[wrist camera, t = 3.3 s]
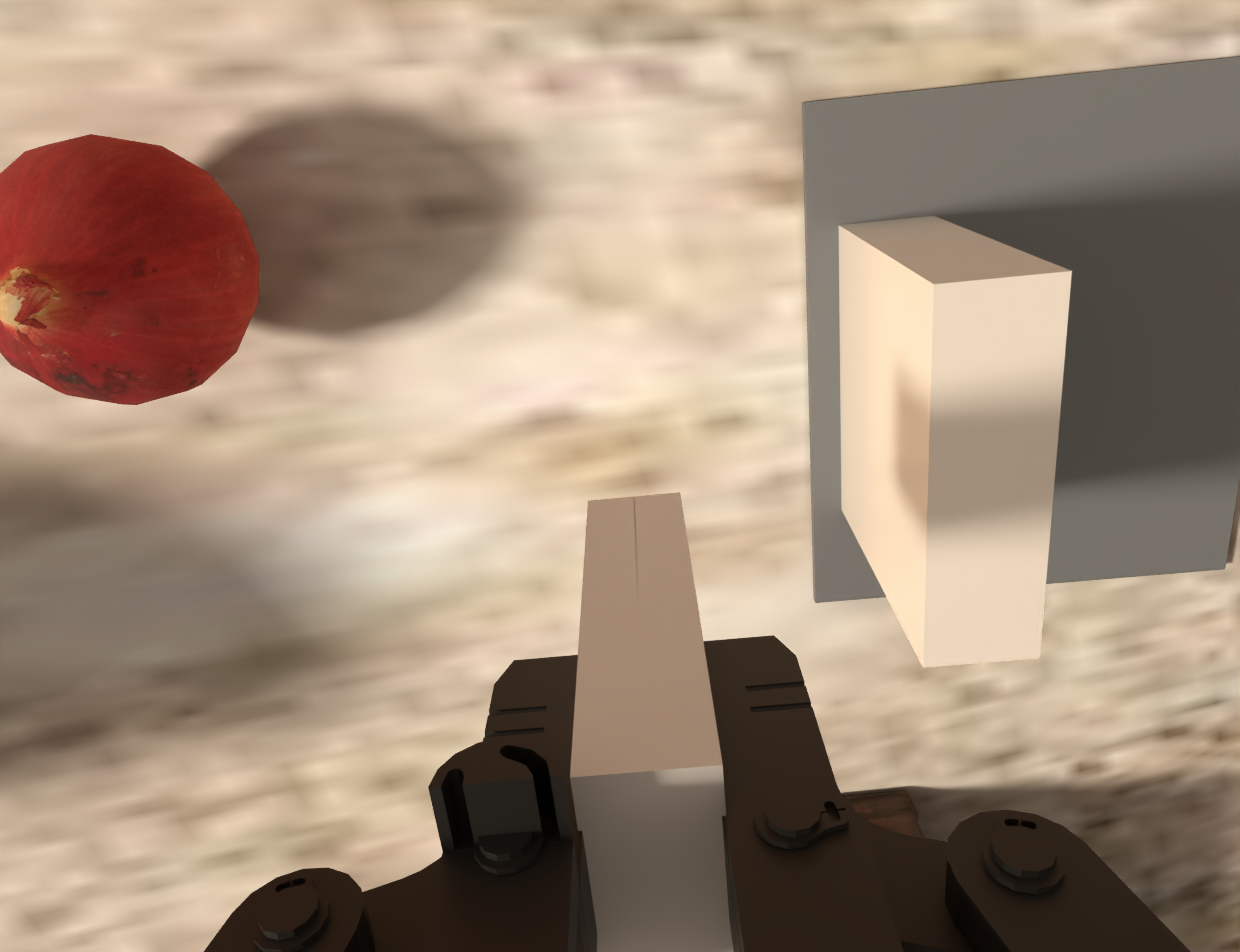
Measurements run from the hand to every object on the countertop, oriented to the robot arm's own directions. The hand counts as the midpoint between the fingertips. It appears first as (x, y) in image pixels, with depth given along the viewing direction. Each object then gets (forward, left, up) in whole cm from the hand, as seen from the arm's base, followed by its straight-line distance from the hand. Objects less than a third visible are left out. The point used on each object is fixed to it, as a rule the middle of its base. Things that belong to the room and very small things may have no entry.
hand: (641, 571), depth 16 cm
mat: (-11, 0, -11) cm, 15 cm away
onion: (+11, -5, -11) cm, 17 cm away
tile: (-7, 0, -11) cm, 13 cm away
